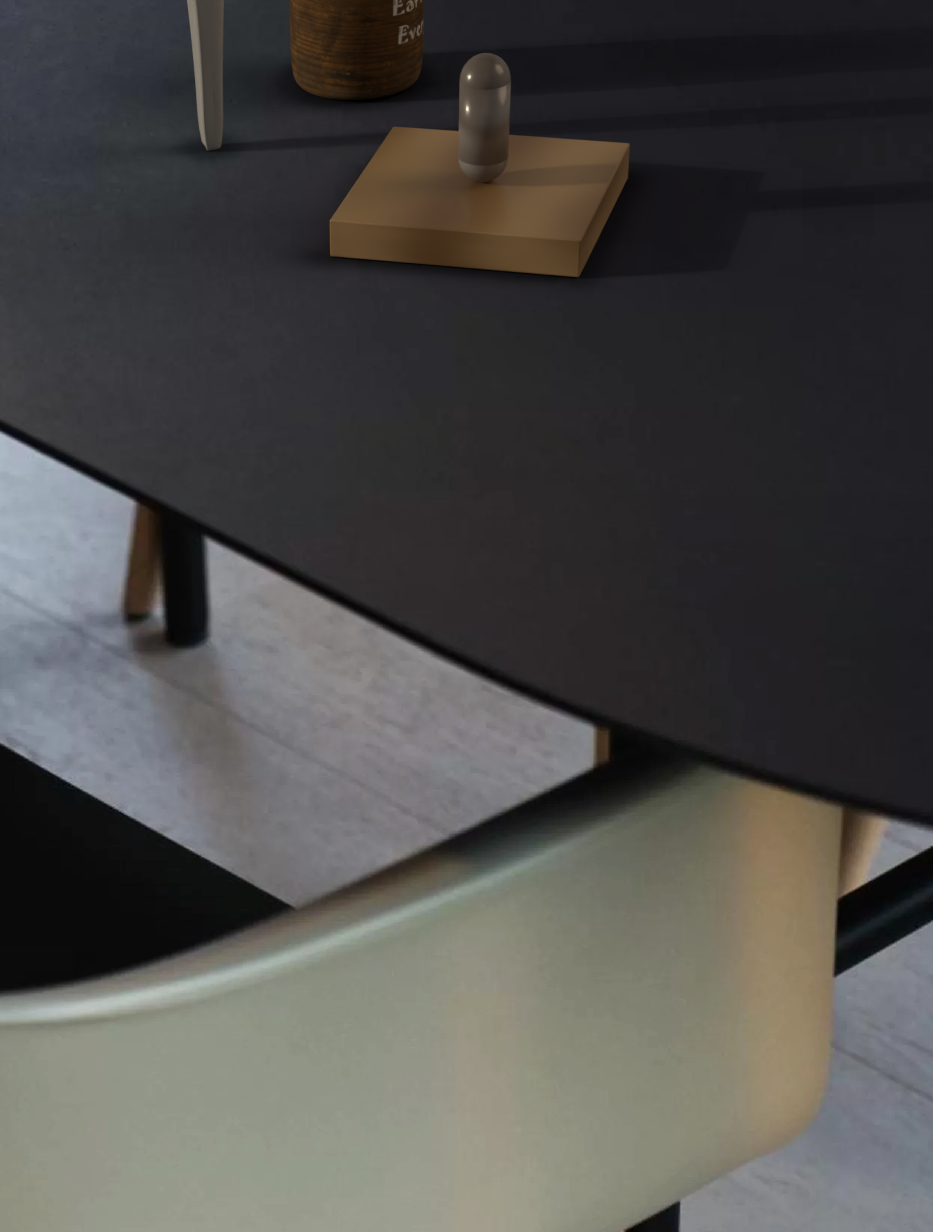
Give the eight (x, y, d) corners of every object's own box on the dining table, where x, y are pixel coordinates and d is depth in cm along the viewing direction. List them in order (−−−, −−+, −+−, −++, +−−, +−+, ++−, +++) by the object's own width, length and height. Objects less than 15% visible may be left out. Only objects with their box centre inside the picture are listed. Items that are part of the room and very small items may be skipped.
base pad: (628, 178, 111) (637, 18, 107) (579, 277, 104) (587, 109, 100) (393, 160, 114) (393, 3, 110) (329, 256, 107) (327, 92, 103)
